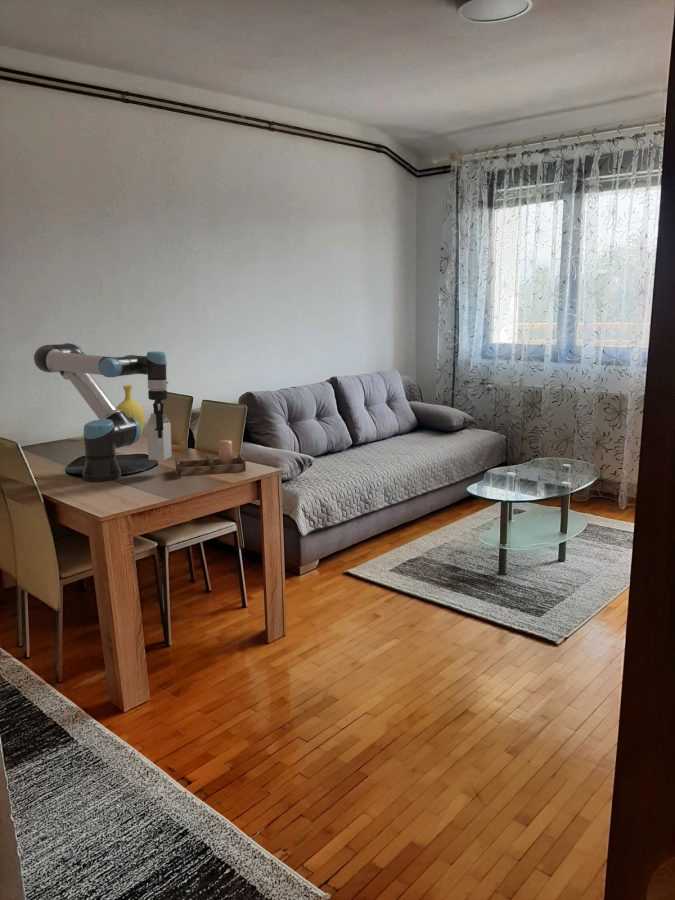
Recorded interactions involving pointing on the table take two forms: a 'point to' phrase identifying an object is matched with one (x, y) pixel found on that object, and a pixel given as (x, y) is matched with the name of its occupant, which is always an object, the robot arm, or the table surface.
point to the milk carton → (153, 449)
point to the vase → (132, 407)
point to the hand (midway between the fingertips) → (159, 443)
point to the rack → (208, 466)
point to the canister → (225, 452)
